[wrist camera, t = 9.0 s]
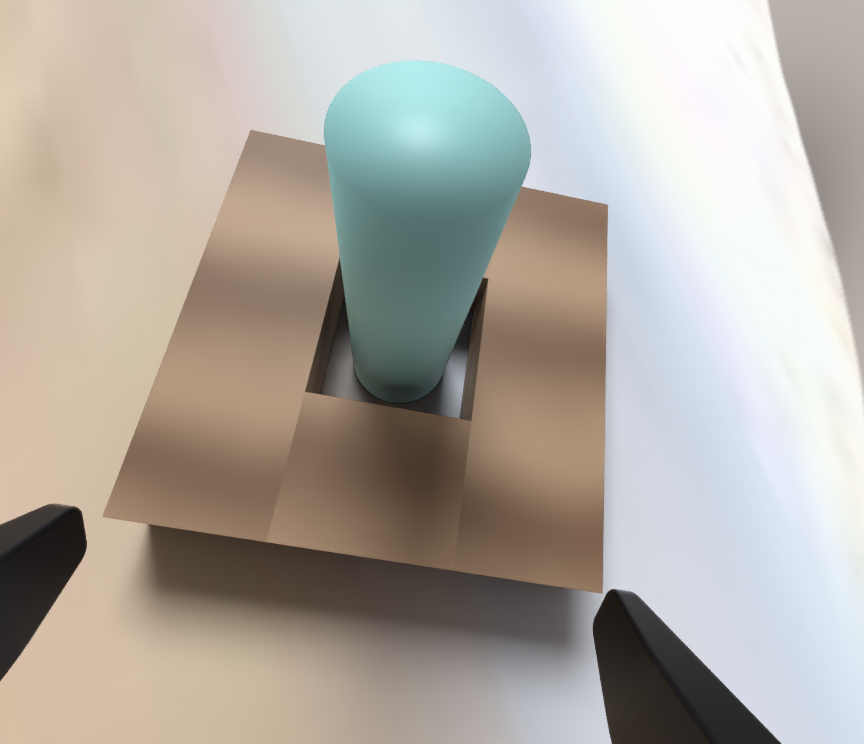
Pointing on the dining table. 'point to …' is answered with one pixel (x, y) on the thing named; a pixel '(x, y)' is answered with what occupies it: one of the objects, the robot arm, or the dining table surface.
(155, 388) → the socket
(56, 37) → the dining table surface
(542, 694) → the dining table surface
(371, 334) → the peg
